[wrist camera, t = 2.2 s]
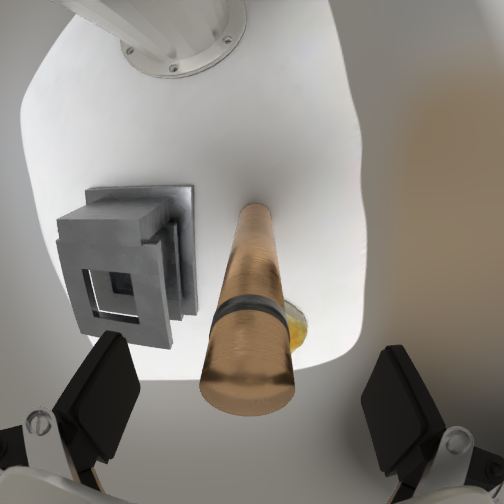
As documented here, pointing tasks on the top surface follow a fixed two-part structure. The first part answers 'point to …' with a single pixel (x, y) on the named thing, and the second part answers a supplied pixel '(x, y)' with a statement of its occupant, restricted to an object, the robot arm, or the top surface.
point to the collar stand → (131, 261)
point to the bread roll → (295, 326)
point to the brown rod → (250, 327)
